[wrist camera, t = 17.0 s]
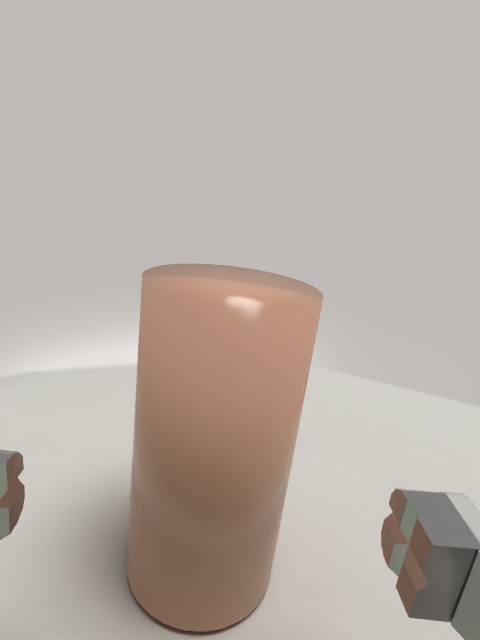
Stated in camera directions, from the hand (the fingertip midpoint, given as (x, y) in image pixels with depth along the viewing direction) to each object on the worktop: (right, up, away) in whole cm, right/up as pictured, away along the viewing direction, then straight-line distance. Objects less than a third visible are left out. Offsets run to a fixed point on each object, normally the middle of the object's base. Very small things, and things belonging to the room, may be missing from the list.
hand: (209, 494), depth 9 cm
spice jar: (-1, -5, +5) cm, 7 cm away
